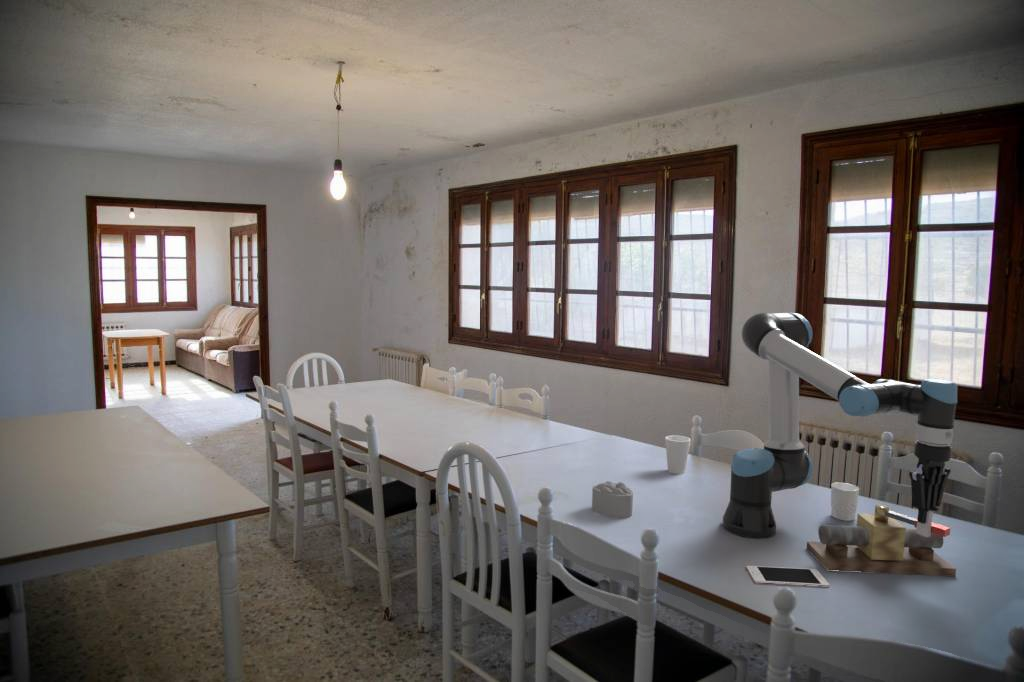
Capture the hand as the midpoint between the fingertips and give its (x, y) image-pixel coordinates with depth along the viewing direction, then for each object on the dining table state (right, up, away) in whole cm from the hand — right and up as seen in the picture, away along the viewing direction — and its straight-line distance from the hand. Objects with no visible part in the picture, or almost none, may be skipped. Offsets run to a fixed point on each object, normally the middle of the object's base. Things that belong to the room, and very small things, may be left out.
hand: (923, 534), depth 162 cm
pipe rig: (-4, -11, +12) cm, 17 cm away
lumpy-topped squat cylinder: (-70, -6, +46) cm, 84 cm away
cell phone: (-33, -12, +3) cm, 35 cm away
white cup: (+2, -8, +44) cm, 45 cm away
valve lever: (0, 0, +5) cm, 5 cm away
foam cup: (-40, -2, +88) cm, 96 cm away
